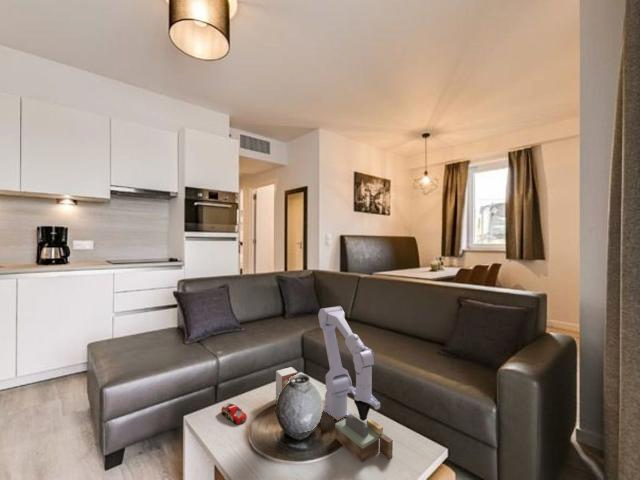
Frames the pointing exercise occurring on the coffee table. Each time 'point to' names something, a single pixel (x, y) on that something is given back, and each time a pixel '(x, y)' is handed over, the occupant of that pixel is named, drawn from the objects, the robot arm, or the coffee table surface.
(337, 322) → the robot arm
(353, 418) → the toolbox lid
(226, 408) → the race car
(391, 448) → the toolbox
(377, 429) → the wooden block
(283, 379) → the small box
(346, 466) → the coffee table surface
